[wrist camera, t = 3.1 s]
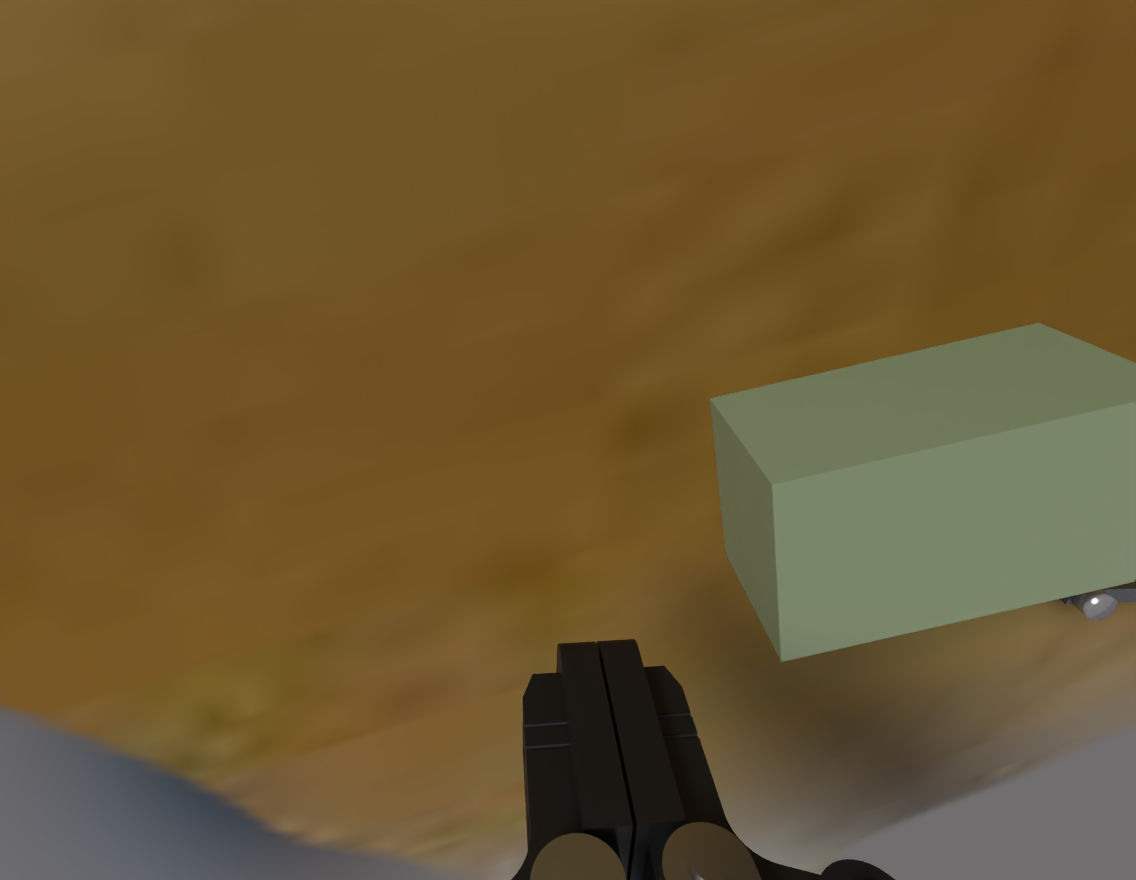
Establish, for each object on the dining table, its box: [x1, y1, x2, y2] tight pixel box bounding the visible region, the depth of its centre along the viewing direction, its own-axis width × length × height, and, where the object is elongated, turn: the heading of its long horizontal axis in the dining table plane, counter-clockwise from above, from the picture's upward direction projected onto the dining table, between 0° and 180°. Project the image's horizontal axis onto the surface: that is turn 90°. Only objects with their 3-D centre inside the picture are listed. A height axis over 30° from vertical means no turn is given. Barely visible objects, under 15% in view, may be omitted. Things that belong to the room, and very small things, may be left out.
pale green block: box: [710, 323, 1136, 662], centre depth 18 cm, size 6×10×5 cm, turn 102°
